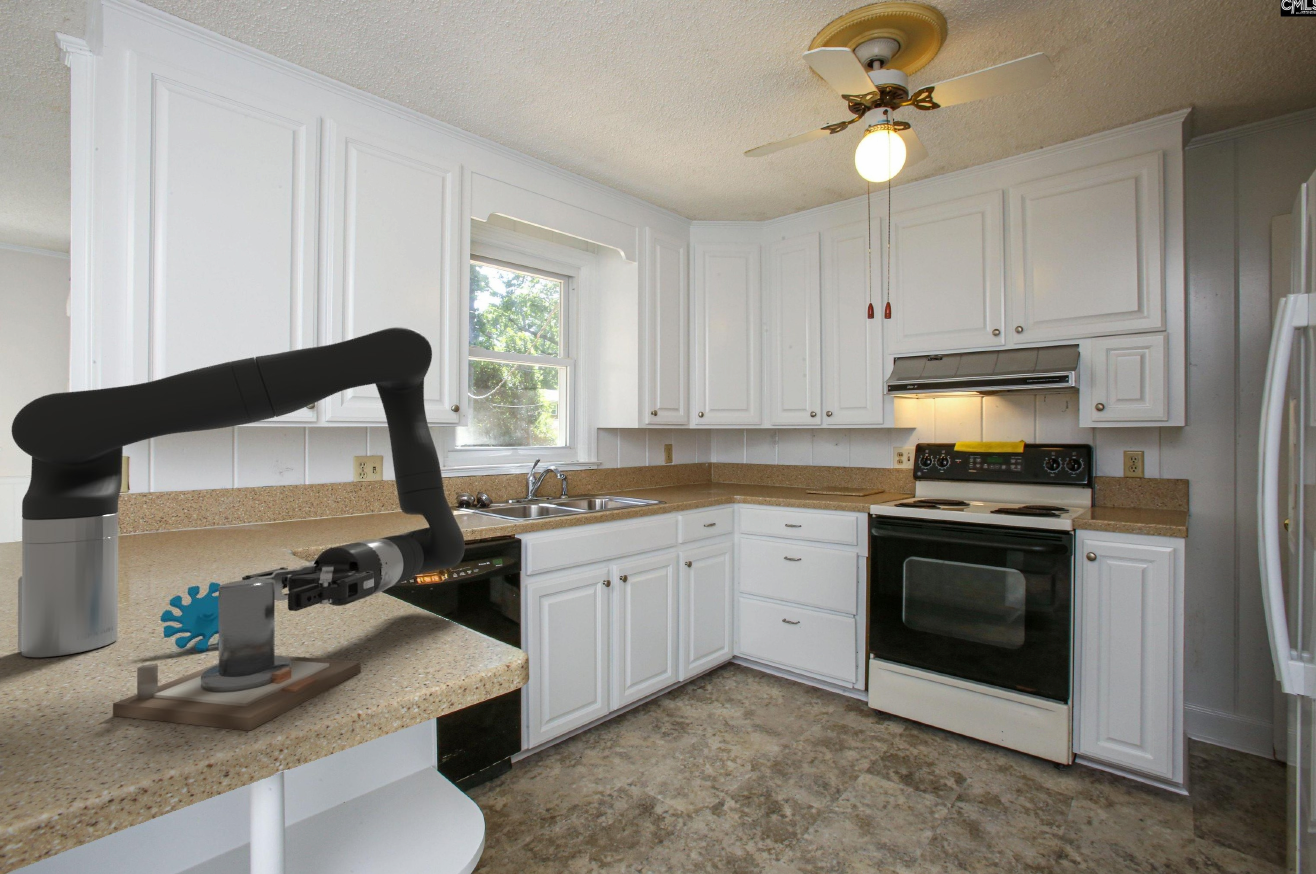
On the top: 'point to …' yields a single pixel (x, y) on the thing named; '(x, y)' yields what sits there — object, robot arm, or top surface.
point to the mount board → (231, 695)
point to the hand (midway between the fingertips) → (257, 599)
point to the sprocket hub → (246, 639)
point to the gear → (194, 617)
